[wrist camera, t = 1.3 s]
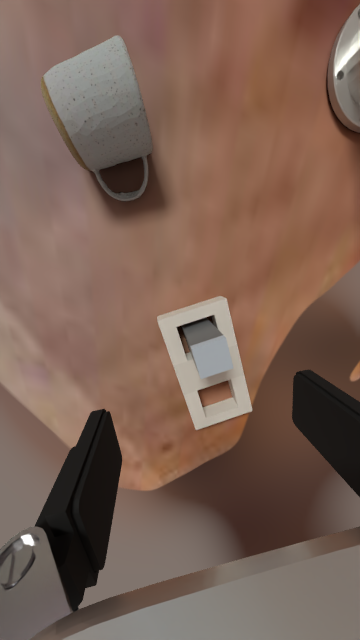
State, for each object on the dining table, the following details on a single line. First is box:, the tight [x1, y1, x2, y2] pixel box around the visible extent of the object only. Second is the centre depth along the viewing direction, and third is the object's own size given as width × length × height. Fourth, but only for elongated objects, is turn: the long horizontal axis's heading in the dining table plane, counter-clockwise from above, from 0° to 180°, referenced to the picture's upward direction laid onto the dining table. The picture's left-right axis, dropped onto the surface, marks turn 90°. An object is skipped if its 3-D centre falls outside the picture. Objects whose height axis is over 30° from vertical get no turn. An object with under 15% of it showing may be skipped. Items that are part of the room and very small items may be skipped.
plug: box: [181, 317, 233, 379], centre depth 26 cm, size 4×4×9 cm
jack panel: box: [157, 296, 252, 430], centre depth 31 cm, size 10×20×2 cm, turn 17°
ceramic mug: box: [41, 36, 153, 201], centre depth 20 cm, size 11×8×8 cm
